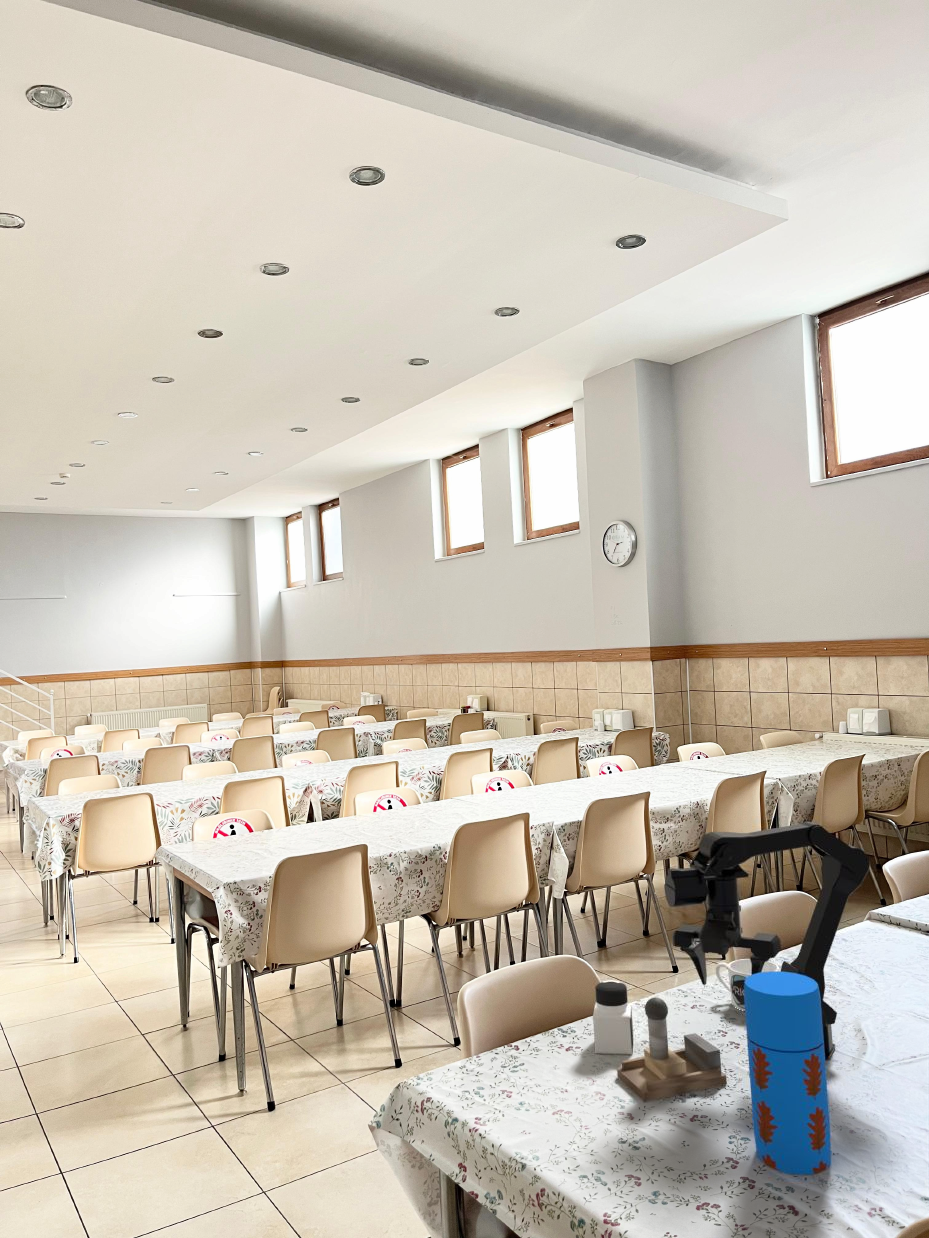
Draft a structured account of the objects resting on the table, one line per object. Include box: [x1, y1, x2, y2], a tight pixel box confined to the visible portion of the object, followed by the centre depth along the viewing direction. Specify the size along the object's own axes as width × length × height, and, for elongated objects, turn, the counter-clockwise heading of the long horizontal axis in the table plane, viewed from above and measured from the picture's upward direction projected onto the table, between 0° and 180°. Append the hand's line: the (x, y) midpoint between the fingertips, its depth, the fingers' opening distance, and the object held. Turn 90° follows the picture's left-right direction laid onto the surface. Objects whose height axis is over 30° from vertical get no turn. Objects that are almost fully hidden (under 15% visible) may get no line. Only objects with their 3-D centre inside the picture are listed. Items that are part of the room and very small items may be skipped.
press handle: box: [643, 997, 687, 1079], centre depth 159 cm, size 5×8×13 cm, turn 17°
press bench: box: [616, 1032, 728, 1103], centre depth 159 cm, size 16×10×6 cm, turn 107°
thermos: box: [744, 971, 832, 1176], centre depth 134 cm, size 11×11×25 cm
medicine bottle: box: [592, 979, 634, 1055], centre depth 175 cm, size 7×7×12 cm
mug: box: [715, 958, 780, 1012], centre depth 193 cm, size 13×10×8 cm
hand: (728, 987), depth 167 cm, fingers open, 9 cm apart
